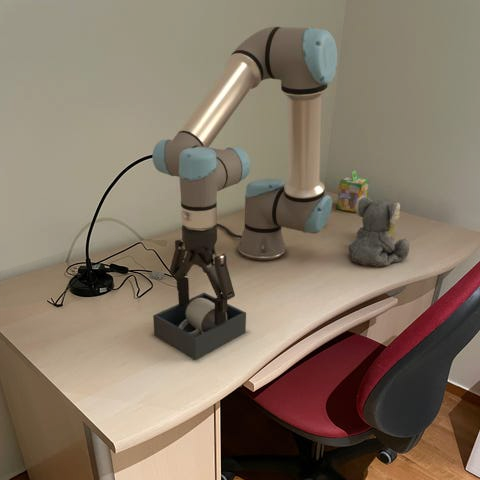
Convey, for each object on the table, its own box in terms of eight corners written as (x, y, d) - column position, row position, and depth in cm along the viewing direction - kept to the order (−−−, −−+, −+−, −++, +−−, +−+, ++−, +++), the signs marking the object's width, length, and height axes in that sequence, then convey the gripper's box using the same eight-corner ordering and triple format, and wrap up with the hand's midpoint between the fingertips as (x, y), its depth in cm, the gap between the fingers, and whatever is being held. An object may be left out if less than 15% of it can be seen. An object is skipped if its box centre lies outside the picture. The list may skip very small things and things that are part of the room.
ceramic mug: (208, 317, 130) (207, 290, 126) (227, 331, 124) (227, 303, 120) (171, 331, 124) (170, 303, 120) (190, 346, 118) (189, 317, 114)
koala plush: (411, 259, 166) (423, 199, 156) (379, 275, 155) (390, 212, 145) (365, 243, 177) (375, 186, 167) (333, 257, 166) (341, 197, 156)
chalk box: (357, 213, 203) (363, 175, 196) (336, 209, 207) (340, 172, 200) (365, 207, 210) (371, 170, 203) (344, 203, 214) (349, 167, 207)
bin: (154, 335, 123) (153, 315, 120) (204, 311, 133) (204, 292, 131) (195, 360, 115) (195, 339, 112) (245, 332, 125) (246, 312, 122)
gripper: (149, 215, 115) (156, 300, 126) (227, 245, 101) (227, 338, 112) (175, 207, 119) (179, 290, 131) (253, 235, 106) (250, 325, 117)
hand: (201, 312), depth 121 cm, fingers open, 12 cm apart
